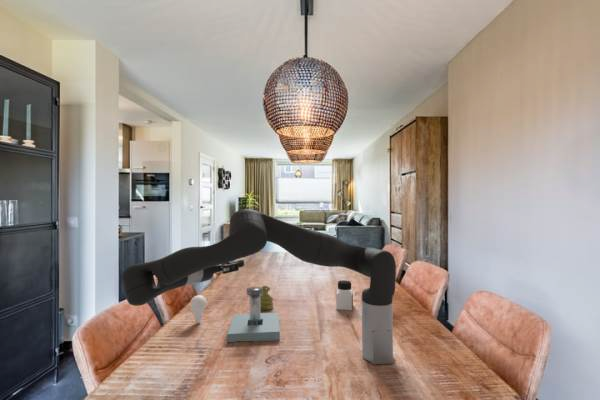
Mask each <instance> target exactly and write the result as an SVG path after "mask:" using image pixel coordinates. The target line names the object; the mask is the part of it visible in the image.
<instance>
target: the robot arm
mask: <svg viewBox="0 0 600 400" xmlns="http://www.w3.org/2000/svg"><path fill="white" fill-rule="evenodd" d="M267 242H269V243H272V244H275V245H277V246H278V247H280V248H282V249H283V250H285V251H286V252H288V253H289V254H290V255H292V256H294V257H295V258H297V259H298V260H300V261H302V262H305V263H308V264H313V265H316V266H322V267H329V268H332V267H333V268H335V267H336V268H337V267H340V268H345V269H349V270H352V271H353V272H356V273H359V274H361V275H363V276H365V277H368V278H370V281H369V287H368V288H367V287H366V288H364V289H363V290H362V293H361V295H362V300H361V348H362V349H361V350H362V351H361V353H362V357H363V358H364V360H366V361H368V362H369V363H371V364H372V365H385V364H389V365H390V364H393V363H394V339H393V338H394V335H393V333H394V330H393V329H394V328H393V327H394V325H393V324H394V323H393V322H394V321H393V319H394V318H393V315H394V314H393V312H394V311H393V309H394V308H393V300H394V299H393V298H394V295H395V292H396V278H397V277H396V276H397V266H396V260H395V257H394V255H393V253H391V252H390V251H388V250H384V249H379V248H375V247H367V246H360V245H354V244H351V243H347V242H344V241H343V240H341V239H339V238H338V237H336V236H333V235H330V234H328V233H324V232H321V231H318V230H314V229H310V228H306V227H303V226H300V225H296V224H293V223H290V222H286V221H284V220H280V219H278V218H276V217H273V216H271V215H268V214H266V213H264V212H261V211H259V210H255V209H251V208H243V209H239V210H237V211H235V212H234V213H233V214H232V215H231V216H230V220H229V235H228V236H227V237H225V238H224V239H222V240H220V241H218V242H216V243H213V244H210V245H206V246H205V245H204V246H189V247H185V248H181V249H178V250H176V251H175V252H172V253H170V254H169V255H166V256H164V257H162V258H159V259H156V260H152V261H147V262H141V263H135V264H131V265H129V266H127V267H126V268H124V269H123V271H122V273H121V282H122V285H123V288H124V289H123V290H124V293H125V296H126V300H127V302H128V304H129V305H132V306H135V307H136V306H137V307H139V306H144V305H145V304H148V303H150V302H151V301H152V300H154V299H156V298H157V297H159V296H160V295H162V294H164V293H166V292H168V291H171V290H174V289H178V288H181V287H187V286H192V285H195V284H200V283H204V282H207V281H209V280H211V279H212V278H213V276H214V275H215V274H220V273H222V274H223V275H225V274H226V275H227V274H230V273H233V272H238V271H239V270H240V269H239V268H243V267H244V266H245V260H244V259H242V258H246V257H249V256H252V255H255V254H257V253H259V252H260V251H262V250H263V249H264V248H265V247H266V245H267ZM154 276H155V277H154ZM155 278H156V280H157V283H156V281H155Z"/></svg>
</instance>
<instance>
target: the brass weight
mask: <svg viewBox="0 0 600 400" xmlns="http://www.w3.org/2000/svg"><path fill="white" fill-rule="evenodd" d="M261 287H262V288H263V293H262V294H261V295H260V312H267V311H271V310H272V309H274V302H273V301H274V297H273V296H272V295H271V294H269V292H270V290H271V287H269V286H268V285H262V286H261Z"/></svg>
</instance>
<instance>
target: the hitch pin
mask: <svg viewBox="0 0 600 400" xmlns="http://www.w3.org/2000/svg"><path fill="white" fill-rule="evenodd" d="M262 287H263V286H251V287H248V288H247V289H246V295H247V296H249V314H250V326H251V325H261V316H260V313H261V310H260V295H261V294H262V293H263V288H262Z"/></svg>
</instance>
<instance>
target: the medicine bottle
mask: <svg viewBox="0 0 600 400" xmlns="http://www.w3.org/2000/svg"><path fill="white" fill-rule="evenodd" d="M353 292H354V290H353V289H352V281H350V280H348V279H341V280H338V281H337V291H336V294H335V296H336V297H335V307H336V308H335V310H337V311H338V310H341V311H353V307H354V293H353Z"/></svg>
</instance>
